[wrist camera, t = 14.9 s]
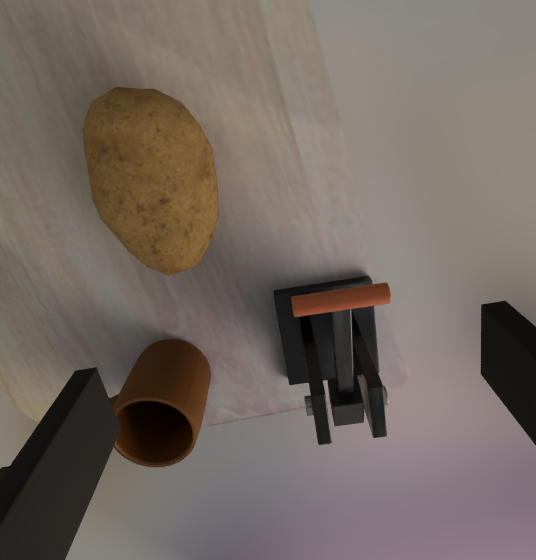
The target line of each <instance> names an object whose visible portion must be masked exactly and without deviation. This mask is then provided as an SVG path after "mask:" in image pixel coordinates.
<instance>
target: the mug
mask: <svg viewBox="0 0 536 560" xmlns="http://www.w3.org/2000/svg"><path fill="white" fill-rule="evenodd" d="M210 376H211V375H210V367H209V364H208V361H207V359H206V358H205V356H204V355H203V354H202V353H201V351H199V350H198V349H197V348H196V347H194V346H193V345H191V344H189V343H187V342H184V341H180V340H163V341H159V342H156V343H154V344H152V345H150V346H149V347H147V348H146V349H145V350H144V351H143V352H142V353H141V355H140V356H139V358H138V359H137V361H136V363H135V365H134V367H133V369H132V371H131V372H130V374H129V376H128V378H127V380H126V382H125V384H124V386H123V388H122V389H121V391H120V393H119V394H118V395H116V396H114V397H112V398H109V400H110V402H111V405H112V407H113V410H114V412H115V415H116V417H117V419H118V422H119V424H120V427H121V431H120V433H119V435H118V438H117V440H116V442H115V445H114V448H115V449H116V450H117V451H118V452H119V453H120V454H121V455H122V456H123V457H125V458H126V459H128V460H130V461H132V462H134V463H136V464H139V465H143V466H148V467H164V466H169V465H173V464H175V463H178V462H179V461H181V460H183V459H184V458H185V457H186V456H188V454H189V453H190V452H191V451H192V449H193V448H194V445H195V443H196V440H197V437H198V434H199V431H200V428H201V424H202V419H203V415H204V410H205V405H206V400H207V394H208V389H209V384H210Z"/></svg>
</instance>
